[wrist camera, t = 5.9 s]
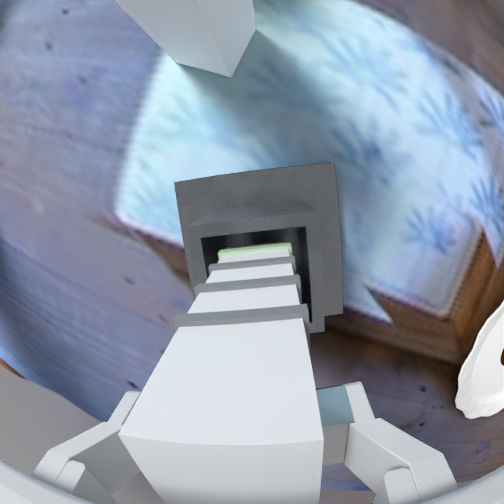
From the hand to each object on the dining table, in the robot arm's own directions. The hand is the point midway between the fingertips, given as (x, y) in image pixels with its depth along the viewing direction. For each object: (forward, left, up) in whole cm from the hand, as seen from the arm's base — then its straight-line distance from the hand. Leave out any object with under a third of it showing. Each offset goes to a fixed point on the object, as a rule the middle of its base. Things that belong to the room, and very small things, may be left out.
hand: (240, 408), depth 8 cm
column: (0, 0, -13) cm, 13 cm away
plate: (+36, -19, -21) cm, 46 cm away
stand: (0, 0, -20) cm, 20 cm away
